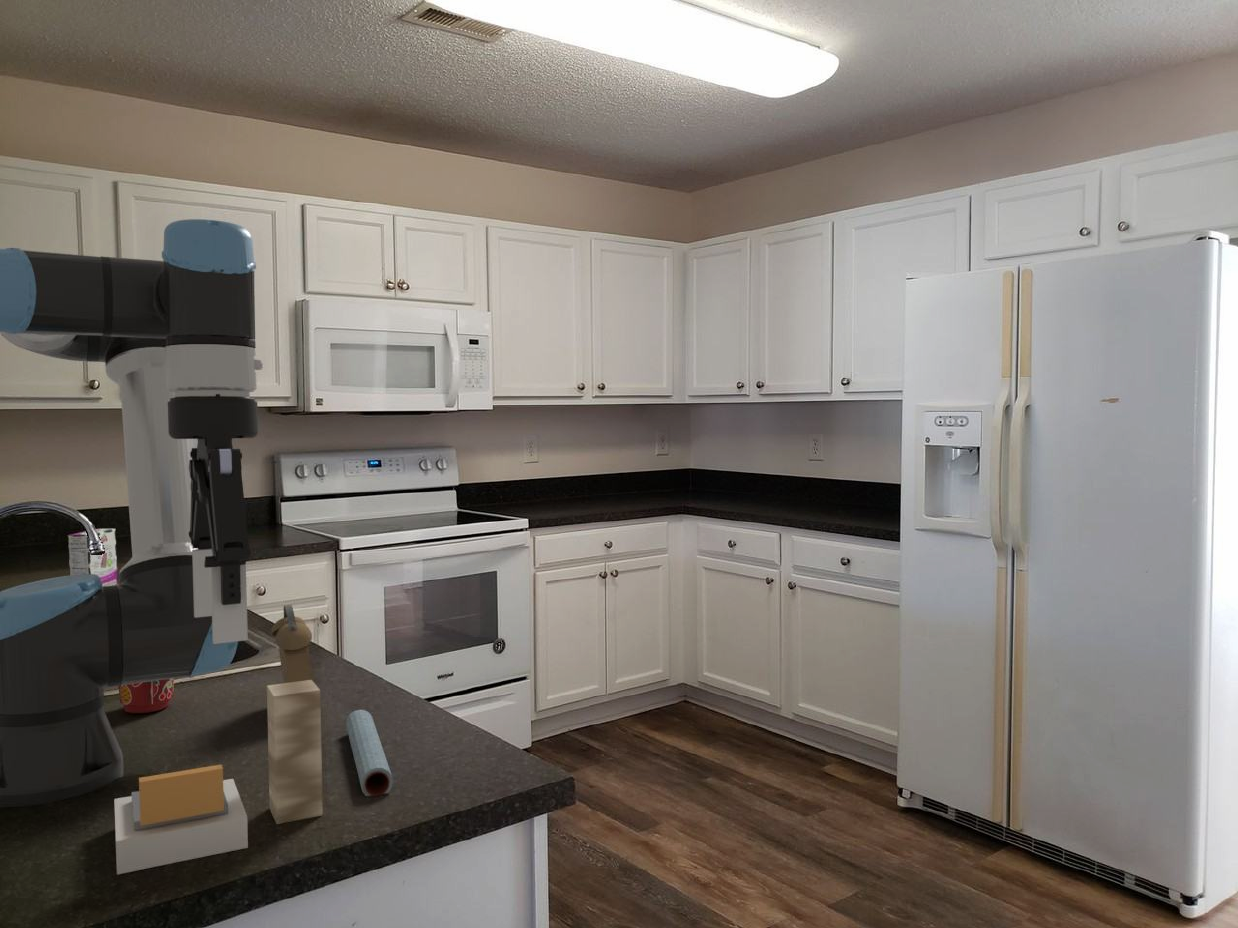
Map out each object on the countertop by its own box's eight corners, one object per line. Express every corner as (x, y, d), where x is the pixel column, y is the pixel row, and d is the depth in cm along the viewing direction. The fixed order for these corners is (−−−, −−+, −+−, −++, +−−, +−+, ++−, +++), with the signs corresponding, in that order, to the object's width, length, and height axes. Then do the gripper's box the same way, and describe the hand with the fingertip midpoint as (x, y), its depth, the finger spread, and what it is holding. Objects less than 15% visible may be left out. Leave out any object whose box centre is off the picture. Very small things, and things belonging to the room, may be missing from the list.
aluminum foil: (346, 736, 123) (345, 710, 123) (398, 730, 126) (398, 704, 126) (361, 801, 102) (360, 770, 102) (423, 793, 104) (423, 762, 104)
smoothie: (189, 707, 135) (185, 567, 134) (127, 720, 129) (122, 574, 128) (165, 695, 141) (161, 561, 140) (104, 708, 135) (100, 568, 134)
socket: (116, 874, 85) (115, 841, 85) (115, 828, 95) (114, 798, 94) (247, 847, 90) (247, 816, 90) (233, 806, 100) (233, 778, 100)
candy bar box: (97, 599, 219) (95, 528, 218) (119, 599, 219) (117, 528, 218) (69, 608, 208) (66, 534, 207) (91, 608, 208) (89, 534, 207)
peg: (276, 824, 95) (273, 696, 95) (269, 808, 99) (266, 685, 99) (322, 814, 98) (320, 689, 97) (314, 799, 102) (311, 679, 101)
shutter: (134, 835, 86) (133, 783, 86) (131, 800, 94) (130, 752, 94) (229, 817, 90) (228, 767, 89) (219, 784, 98) (218, 738, 97)
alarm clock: (318, 719, 129) (315, 610, 128) (279, 724, 127) (277, 613, 126) (307, 698, 139) (305, 596, 138) (271, 702, 137) (269, 599, 136)
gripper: (283, 389, 77) (289, 648, 78) (235, 400, 99) (241, 602, 100) (182, 388, 74) (189, 660, 74) (156, 399, 95) (162, 610, 96)
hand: (219, 627), depth 87 cm, fingers open, 13 cm apart
